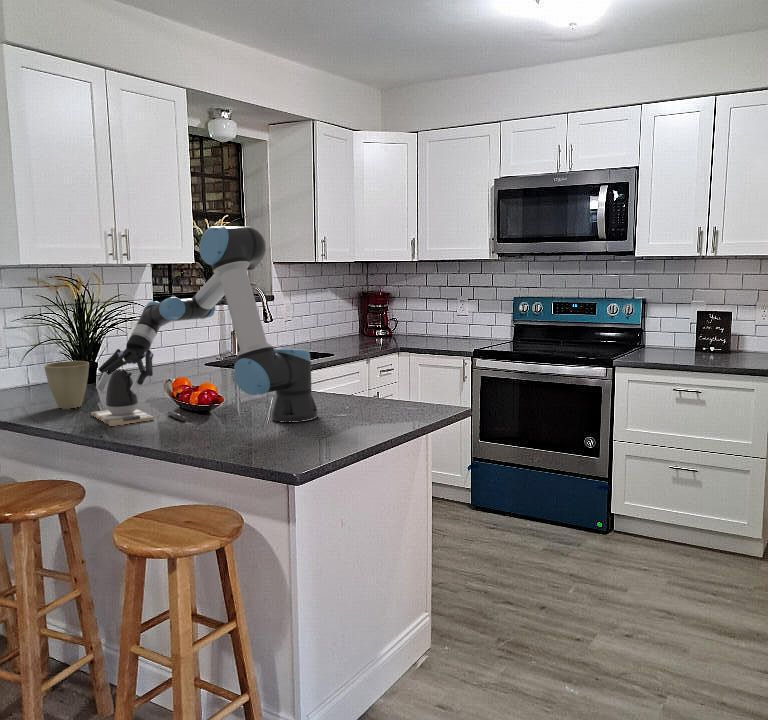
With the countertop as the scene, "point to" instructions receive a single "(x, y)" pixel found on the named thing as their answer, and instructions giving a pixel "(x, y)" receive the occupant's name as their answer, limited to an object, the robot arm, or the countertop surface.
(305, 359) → the robot arm
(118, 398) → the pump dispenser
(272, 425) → the countertop surface
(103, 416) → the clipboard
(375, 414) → the countertop surface
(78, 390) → the plant pot
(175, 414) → the black marker
